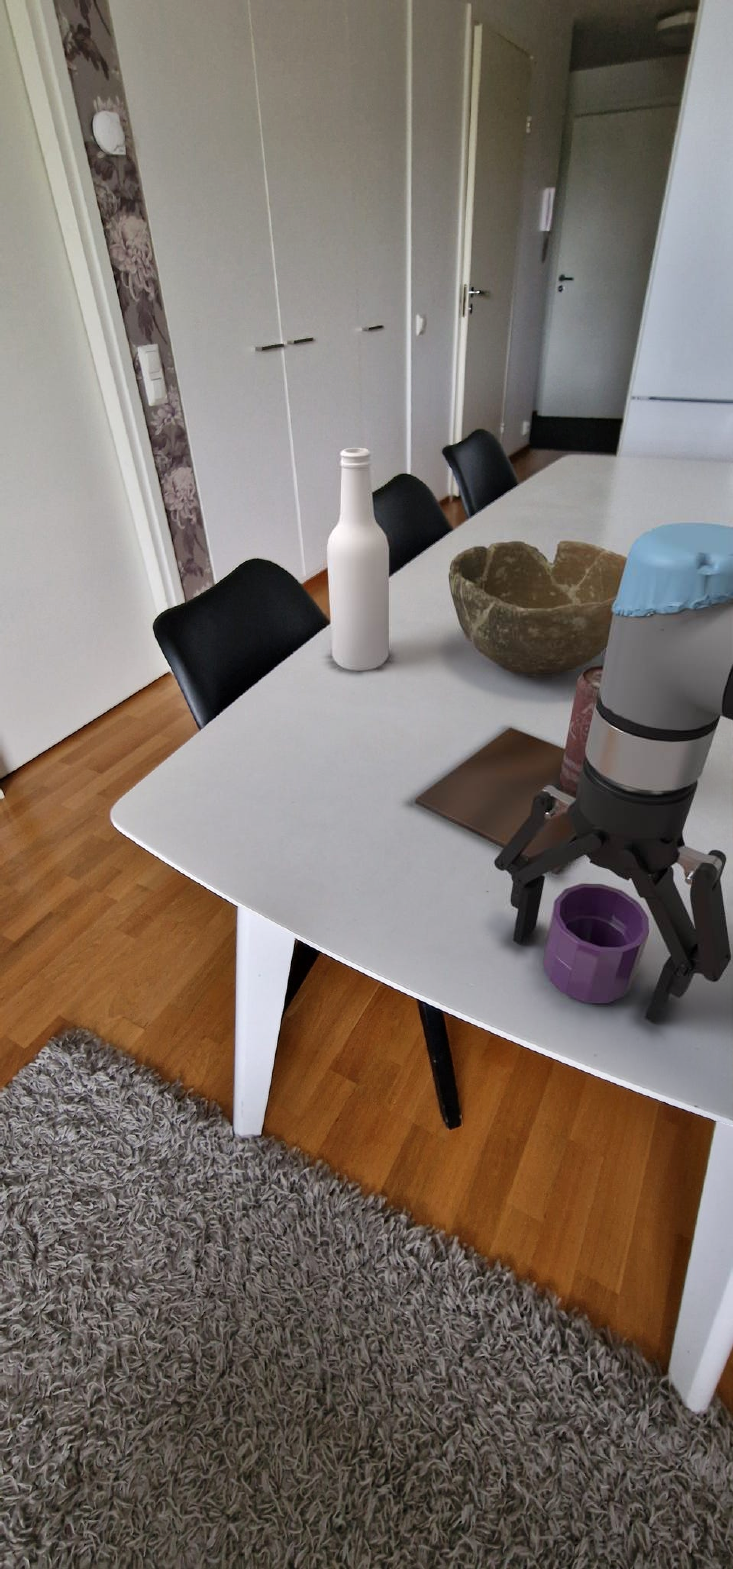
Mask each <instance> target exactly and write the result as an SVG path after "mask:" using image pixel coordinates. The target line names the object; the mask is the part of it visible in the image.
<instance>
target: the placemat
mask: <svg viewBox="0 0 733 1569" xmlns="http://www.w3.org/2000/svg"><path fill="white" fill-rule="evenodd" d="M564 752H565V748H563V747H561V746H559V745H556V744H553V743H550V742H548V741H546V740H543V739H541V738H538V737H536V736H533V735H531V734H528V733H526V732H523V731H521V730H518V729H515V728H513V727H508V728H507V729H506V730H505V731H503V732H502V733H501V734H499V735H498V736H496V738H494V739H493V740H492V741H490V742H489V743H487V744H486V745H485V746H483V747H482V748H481V749H479V750H478V751H477V752H476V753H474V754H472V756H470V757H469V758H467V759H466V760H465V761H463V762H462V763H461V764H460V765H458V766H457V767H456V768H454V769H453V770H452V771H450V772H449V773H448V774H446V775H445V776H444V777H442V778H441V779H440V780H439V781H437V782H436V783H434V784H433V785H431V786H430V787H429V788H428V789H426V790H425V791H424V792H422V793H421V794H419V796H417V797H416V798H414V799H415V802H414V803H415V804H416V805H419V806H421V807H422V808H425V809H427V810H429V811H431V812H433V813H435V814H437V815H438V816H440V817H443V818H444V819H447V820H448V821H450V822H453V823H454V824H456V825H459V826H460V827H462V828H465V829H466V830H468V831H470V832H472V833H474V834H476V835H478V836H480V837H481V838H484V839H486V840H487V841H490V842H492V843H494V844H496V845H498V846H500V847H502V848H503V849H504V848H505V846H506V845H507V844H508V842H509V841H510V840H511V839H512V837H513V836H514V835H515V834H516V832H517V831H518V830H519V828H520V827H521V826H522V825H523V823H524V822H525V821H526V819H527V818H528V817H529V816H530V813H531V808H532V803H533V798H534V796H535V795H537V794H538V793H539V792H540V791H541V790H542V789H543V788H544V787H545V786H547V785H548V784H549V783H550V782H551V781H557V782H559V783H560V784H561V785H562V788H563V791H562V792H563V793H565V794H567V795H569V796H571V797H574V798H576V795H574V794H572V793H571V792H569V791H567V789H566V788H565V787H564V786H563V784H562V782H561V780H560V774H561V768H562V763H563V758H564ZM573 834H574V831H573V829H572V826H571V824H570V822H569V820H568V817H567V814H566V813H562V814H561V815H559V816H558V817H557V818H551V819H550V820H549V821H548V822H547V823H546V825H545V826H544V827H543V828H542V829H541V831H540V832H539V833H538V834H537V835H536V837H535V838H534V839H533V840H532V842H531V843H530V844H529V845H528V846H527V848H526V849H525V850H524V851H523V852H522V854H521V855H522V856H523V857H524V858H525V859H526V860H528V859H529V858H530V857H531V856H532V855H533V856H535V855H537V854H539V853H540V852H542V851H544V850H546V849H548V848H549V847H551V846H553V845H555V844H556V843H558V842H560V841H562V840H564V839H565V838H567V837H569V836H571V835H573ZM567 863H568V862H566V863H564V864H563V865H561V866H559V867H557V868H555V869H553V870H551V871H550V872H551V873H553V874H554V875H557V874H558V872H560V870H561V869H562V868H563V867H564V866H565V865H566V864H567Z"/></svg>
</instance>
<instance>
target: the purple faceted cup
mask: <svg viewBox="0 0 733 1569" xmlns="http://www.w3.org/2000/svg"><path fill="white" fill-rule="evenodd" d="M649 918H650V917H649V916H648V914H647V913H646V911H645V910H644V909H643V906H642V905H641V903H640V902H639V901H637V900H636V899H634V898H633V897H632V896H630V895H629V894H628V893H626V892H625V891H623V890H622V889H618V888H615V887H613V886H609V885H606V884H603V883H579V884H576V885H573V886H570V887H567V888H565V889H563V890H562V892H561V893H560V894H559V895H558V896H557V897H556V898H555V900H554V901H553V907H552V911H551V916H550V922H549V927H548V931H547V935H546V936H547V937H546V941H545V947H544V952H543V959H542V960H543V962H542V966H543V968H544V970H545V972H546V974H547V976H548V979H549V981H550V982H551V983H552V984H553V985H554V986H555V987H557V989H559V991H561V992H563V994H565V995H566V996H568V997H572V998H573V999H576V1000H578V1001H581V1002H584V1003H587V1004H607V1003H610V1002H613V1001H615V1000H618V999H620V998H622V997H624V996H625V995H626V994H627V992H628V991H629V989H630V988H631V986H632V985H633V983H634V980H635V978H636V974H637V971H638V968H639V964H640V962H641V959H642V956H643V953H644V950H645V947H646V944H647V942H648V938H649V934H650V919H649Z"/></svg>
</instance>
